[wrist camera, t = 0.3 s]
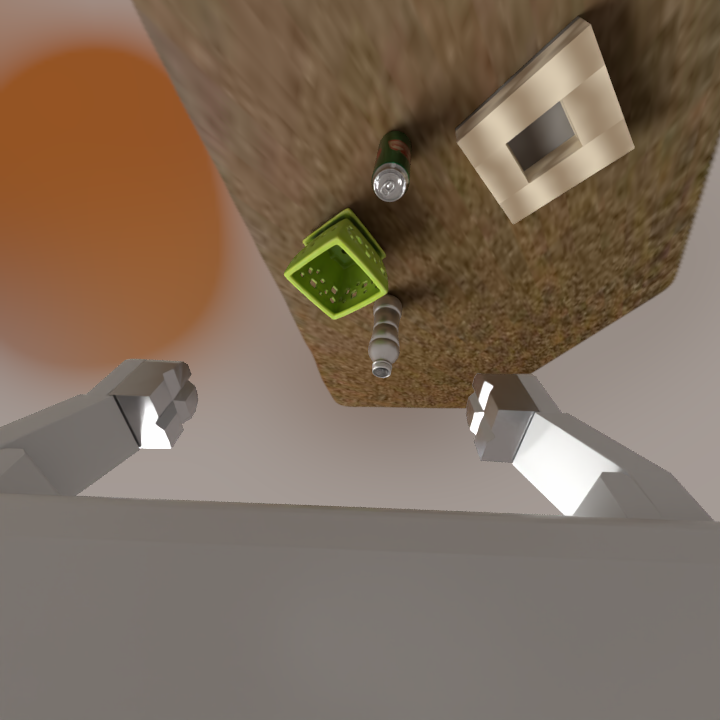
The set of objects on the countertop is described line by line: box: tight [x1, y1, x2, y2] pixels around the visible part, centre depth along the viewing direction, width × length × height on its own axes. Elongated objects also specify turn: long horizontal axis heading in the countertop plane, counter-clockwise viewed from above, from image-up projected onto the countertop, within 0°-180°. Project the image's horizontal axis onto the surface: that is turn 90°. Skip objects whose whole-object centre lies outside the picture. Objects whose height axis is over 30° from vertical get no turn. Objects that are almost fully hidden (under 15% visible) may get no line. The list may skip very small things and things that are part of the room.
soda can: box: [372, 131, 412, 202], centre depth 47 cm, size 5×5×12 cm
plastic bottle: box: [368, 295, 402, 378], centre depth 70 cm, size 6×7×20 cm
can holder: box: [455, 16, 635, 224], centre depth 45 cm, size 16×16×5 cm
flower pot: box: [284, 208, 388, 319], centre depth 61 cm, size 14×14×13 cm
